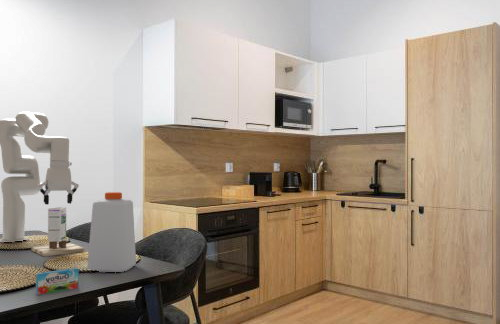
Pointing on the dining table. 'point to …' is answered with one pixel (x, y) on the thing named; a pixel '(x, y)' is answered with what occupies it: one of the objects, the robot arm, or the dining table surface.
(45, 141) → the robot arm
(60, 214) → the syrup box
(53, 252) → the peg stand
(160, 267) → the dining table surface
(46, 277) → the yogurt
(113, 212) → the plastic bottle
